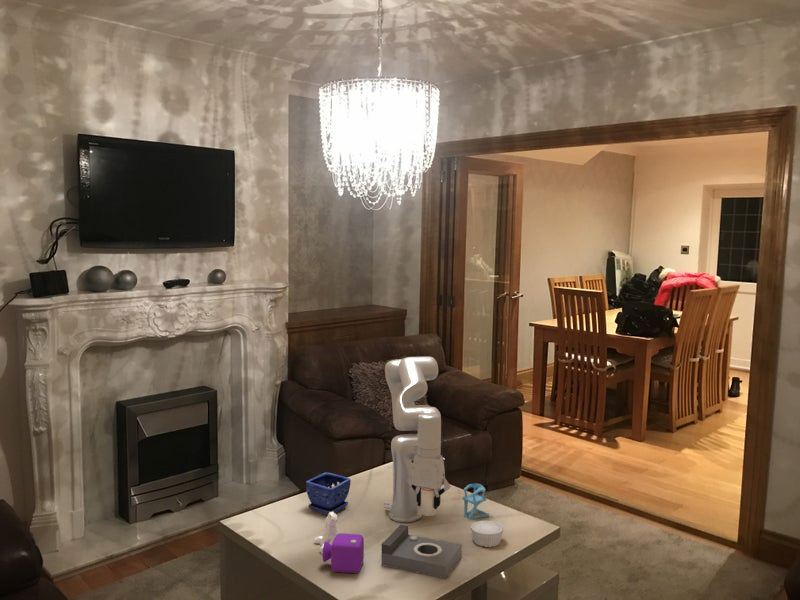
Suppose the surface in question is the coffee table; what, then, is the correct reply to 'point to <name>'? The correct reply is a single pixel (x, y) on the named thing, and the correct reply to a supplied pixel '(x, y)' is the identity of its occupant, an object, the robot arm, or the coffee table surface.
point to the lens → (427, 501)
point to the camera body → (419, 553)
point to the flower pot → (328, 492)
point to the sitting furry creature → (328, 530)
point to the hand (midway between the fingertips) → (428, 505)
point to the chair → (474, 501)
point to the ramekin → (486, 533)
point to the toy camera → (345, 552)
